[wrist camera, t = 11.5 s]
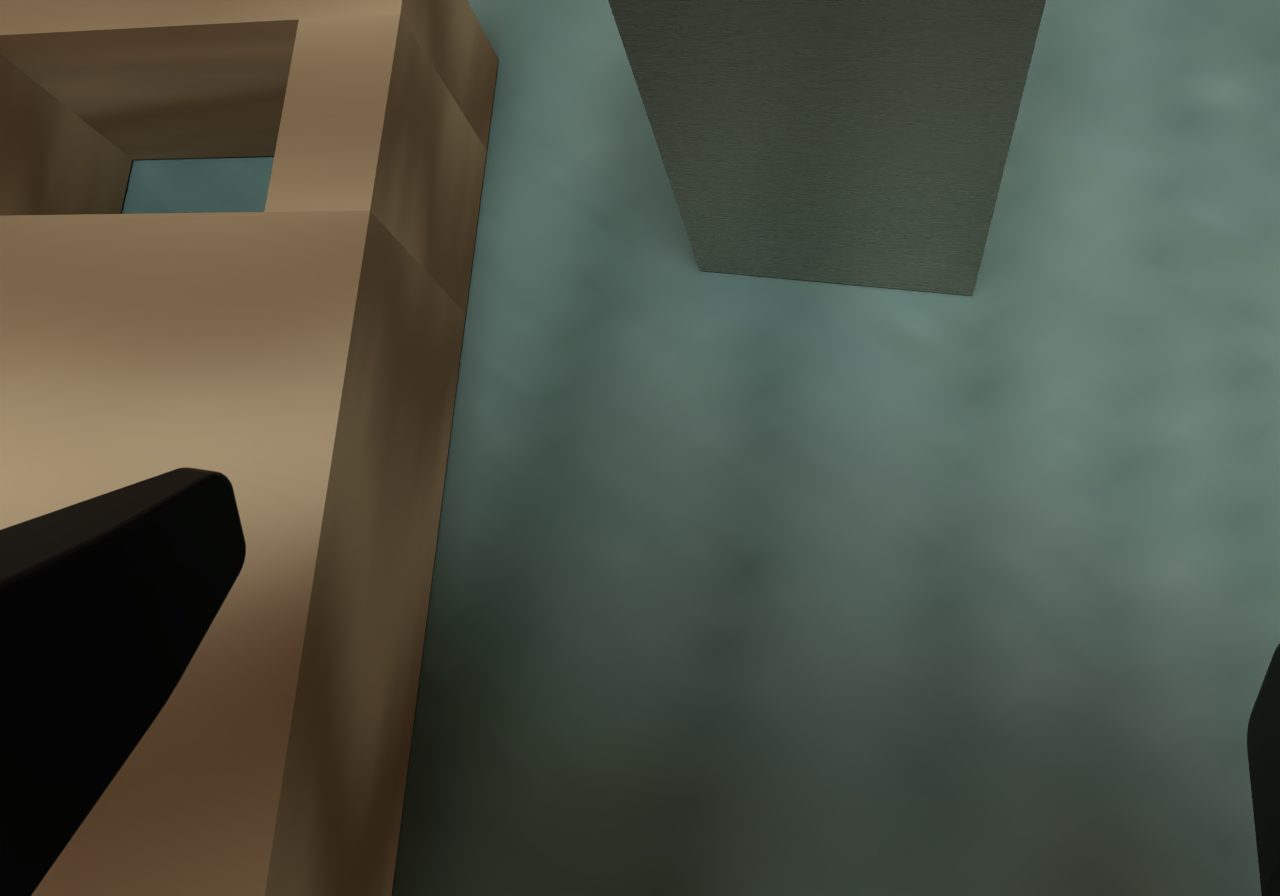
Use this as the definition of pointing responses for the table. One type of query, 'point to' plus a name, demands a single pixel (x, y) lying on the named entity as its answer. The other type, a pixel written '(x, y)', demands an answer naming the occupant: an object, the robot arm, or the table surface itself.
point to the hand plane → (250, 393)
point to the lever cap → (834, 130)
